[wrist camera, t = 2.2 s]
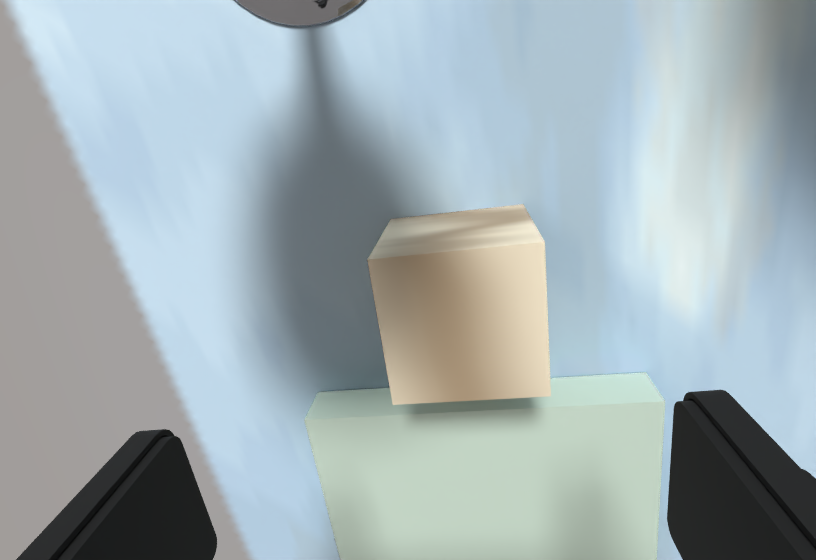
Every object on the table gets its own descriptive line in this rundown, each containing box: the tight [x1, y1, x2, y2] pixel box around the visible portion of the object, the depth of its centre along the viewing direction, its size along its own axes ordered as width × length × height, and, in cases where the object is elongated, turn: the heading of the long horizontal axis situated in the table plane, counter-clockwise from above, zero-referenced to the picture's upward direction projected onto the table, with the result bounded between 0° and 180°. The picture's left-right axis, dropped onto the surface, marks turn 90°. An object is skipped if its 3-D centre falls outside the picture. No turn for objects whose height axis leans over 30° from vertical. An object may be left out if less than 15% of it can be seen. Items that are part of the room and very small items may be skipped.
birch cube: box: [367, 204, 551, 405], centre depth 17 cm, size 5×5×5 cm
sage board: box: [304, 372, 665, 560], centre depth 21 cm, size 14×10×2 cm
